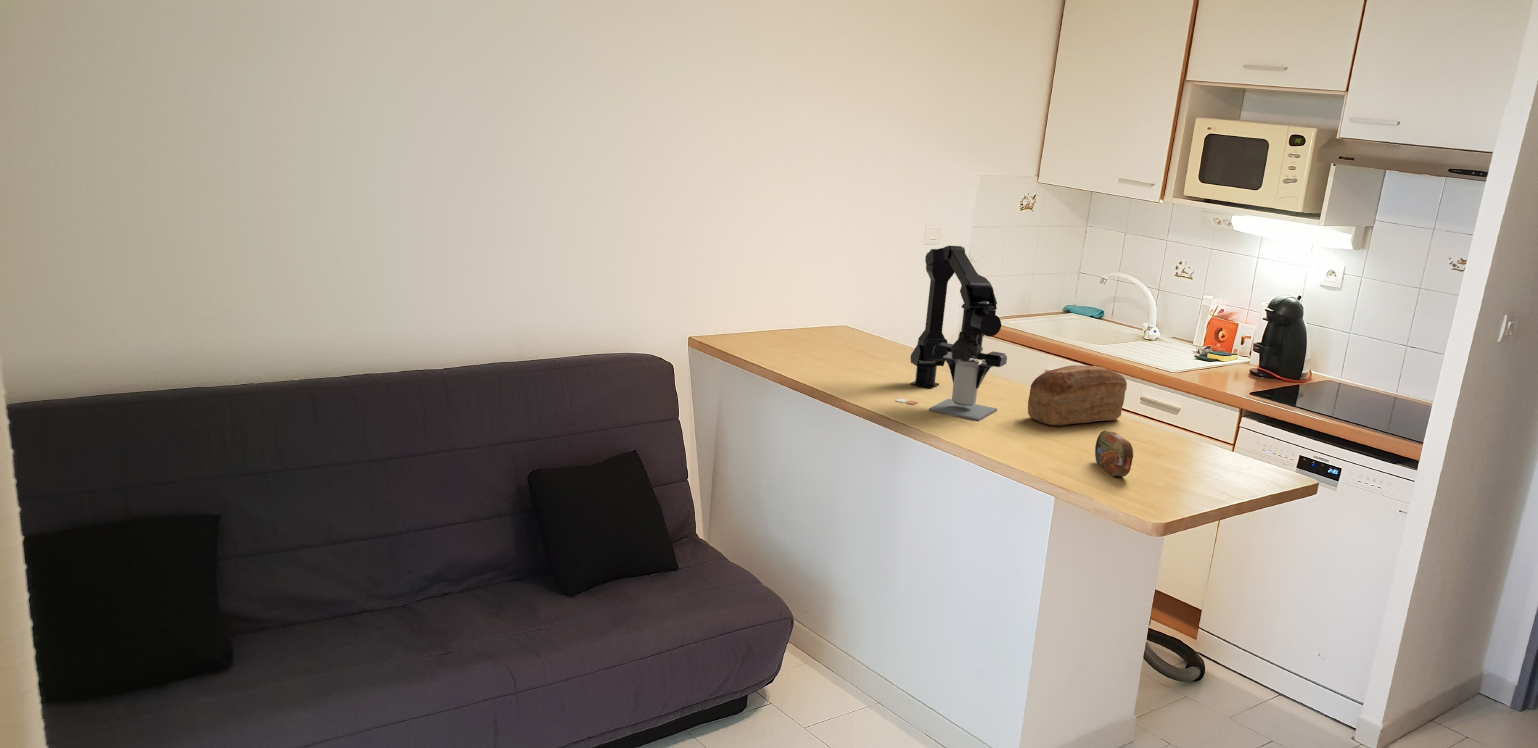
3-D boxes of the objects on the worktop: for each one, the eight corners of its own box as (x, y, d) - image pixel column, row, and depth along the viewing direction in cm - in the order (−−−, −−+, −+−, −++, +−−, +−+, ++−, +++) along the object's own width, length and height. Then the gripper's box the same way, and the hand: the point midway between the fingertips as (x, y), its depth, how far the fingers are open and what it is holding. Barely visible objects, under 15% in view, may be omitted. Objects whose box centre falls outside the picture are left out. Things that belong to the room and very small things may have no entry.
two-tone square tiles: (899, 398, 292) (899, 398, 291) (918, 402, 289) (918, 402, 289) (894, 401, 289) (895, 400, 289) (914, 405, 286) (914, 404, 286)
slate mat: (948, 400, 293) (948, 398, 293) (997, 410, 287) (997, 408, 286) (928, 410, 282) (928, 408, 281) (979, 421, 275) (979, 418, 275)
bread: (1128, 422, 285) (1136, 370, 282) (1051, 430, 271) (1058, 375, 268) (1095, 410, 295) (1102, 359, 292) (1019, 417, 281) (1025, 364, 278)
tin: (1092, 460, 248) (1097, 425, 246) (1105, 460, 249) (1110, 426, 247) (1117, 481, 234) (1123, 445, 232) (1131, 482, 234) (1137, 445, 232)
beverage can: (975, 408, 280) (980, 363, 277) (950, 405, 281) (955, 360, 278) (975, 402, 286) (981, 358, 283) (951, 399, 287) (956, 356, 285)
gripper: (927, 326, 277) (921, 384, 280) (996, 338, 268) (989, 398, 271) (943, 321, 286) (937, 377, 290) (1010, 332, 277) (1003, 390, 281)
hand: (965, 386), depth 283 cm, fingers closed on beverage can, 6 cm apart
